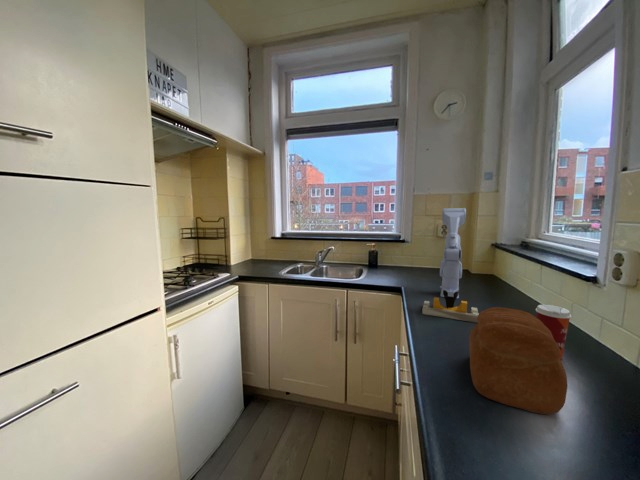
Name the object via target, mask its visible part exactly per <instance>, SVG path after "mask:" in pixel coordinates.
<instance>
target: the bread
mask: <svg viewBox="0 0 640 480" xmlns="http://www.w3.org/2000/svg"><path fill="white" fill-rule="evenodd" d="M478 313H479V315H478V316H477V320H478V323H476V324H475V325H474V326H473V327H472V328H471V330H470V332H469V339H468V345H469V368H470V375H471V381H472V384H473V387H474V389H475V390H476V391H477V392H478V393H479V394H480V395H481V396H483V397H485V398H486V399H489V400H492V401H495V402H497V403H499V404H503V405H505V406H510V407H514V408H517V409H520V410H523V411H527V412H531V413H532V412H533V413H536V414H542V415H553V414H557V413H559V412H560V411H561V410H562V409H563V407H564V405H565V404H566V400H567V398H566V397H567V393H568V376H567V373H566V369H565V367H564V365H563V362H562V361H561V360H560V359H559V356H560V348H559V347H558V345H557V343H556V342H555V340H554V338H553V336H552V333H551V331H550V330H549V329H548V328H547V327H546V326H545V325H544V324H543V323H542V322H541V321H540V320H539V319H538V318H537V316H535V315H534V314H531V313H530V312H527V311H524V310H520V309H516V308H515V309H514V308H508V307H500V306H497V307H496V306H495V307H494V306H493V307H489V308H486V309H484V310H482V311H480V312H478Z"/></svg>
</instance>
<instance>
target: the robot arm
mask: <svg viewBox="0 0 640 480" xmlns="http://www.w3.org/2000/svg"><path fill="white" fill-rule="evenodd" d="M466 218H467V209H466V207H463V208H462V207H461V208H460V207H457V208H454V207H453V208H452V207H451V208H448V207H447V208H445V207H444V208H442V213H441V221H442V225H443V226H446V227H447V235H445V239H444V240H445V243H444V249H443V256H442V257H443V259H442V260H441V261H440V266H439V276H440V277H441V278H442V281H441V285H439V288H440V289H441V290H440V297H442V298H444V299H445V306H446V307H445V308H448V307H450V308H452V307H455V303H456V299H460V297H459V296H460V295H459V290H460V286H459V284H460V283H459V281H460V279H462V278H463V277H462V276H463V264H462V255H463V254H462V247H461V239H462V238H461V236H460V235H459V228H460V227H461V226H463V225H464V224H465V221H466Z"/></svg>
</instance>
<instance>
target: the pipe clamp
mask: <svg viewBox="0 0 640 480" xmlns="http://www.w3.org/2000/svg"><path fill="white" fill-rule="evenodd" d="M432 305H433V306H432V308H437V309H444V310H450V311H457V312H464V313H468V301H467V300H466V301H465V300H461V301H460V304H459V305H458V306H453V307H452V308H450V307H448V308H447V307H445V306H444V305H443V304H442V303H441V300H440V297H436V296H435V297H433V304H432Z"/></svg>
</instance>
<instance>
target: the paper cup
mask: <svg viewBox="0 0 640 480" xmlns="http://www.w3.org/2000/svg"><path fill="white" fill-rule="evenodd" d="M535 312H536V318H538V319H539V320H540V321H541V322H542V323H543V324H544V325H545V326H546V327H547V328H548V329H549V330H550V331H551V333H552V336H553V338H554V340H555V342H556V343H557V345H558V347H559V348H560V356H559V359H560V361H561V360H562V359H563V356H564V351H565V347H566V346H565V345H566V340H567V335H568V330H569V324H570V320H571V318H572V315H571V312H570V310H569V309H567V308H564V307H561V306H557V305H552V304H538V305H537V307H536V308H535Z"/></svg>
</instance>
